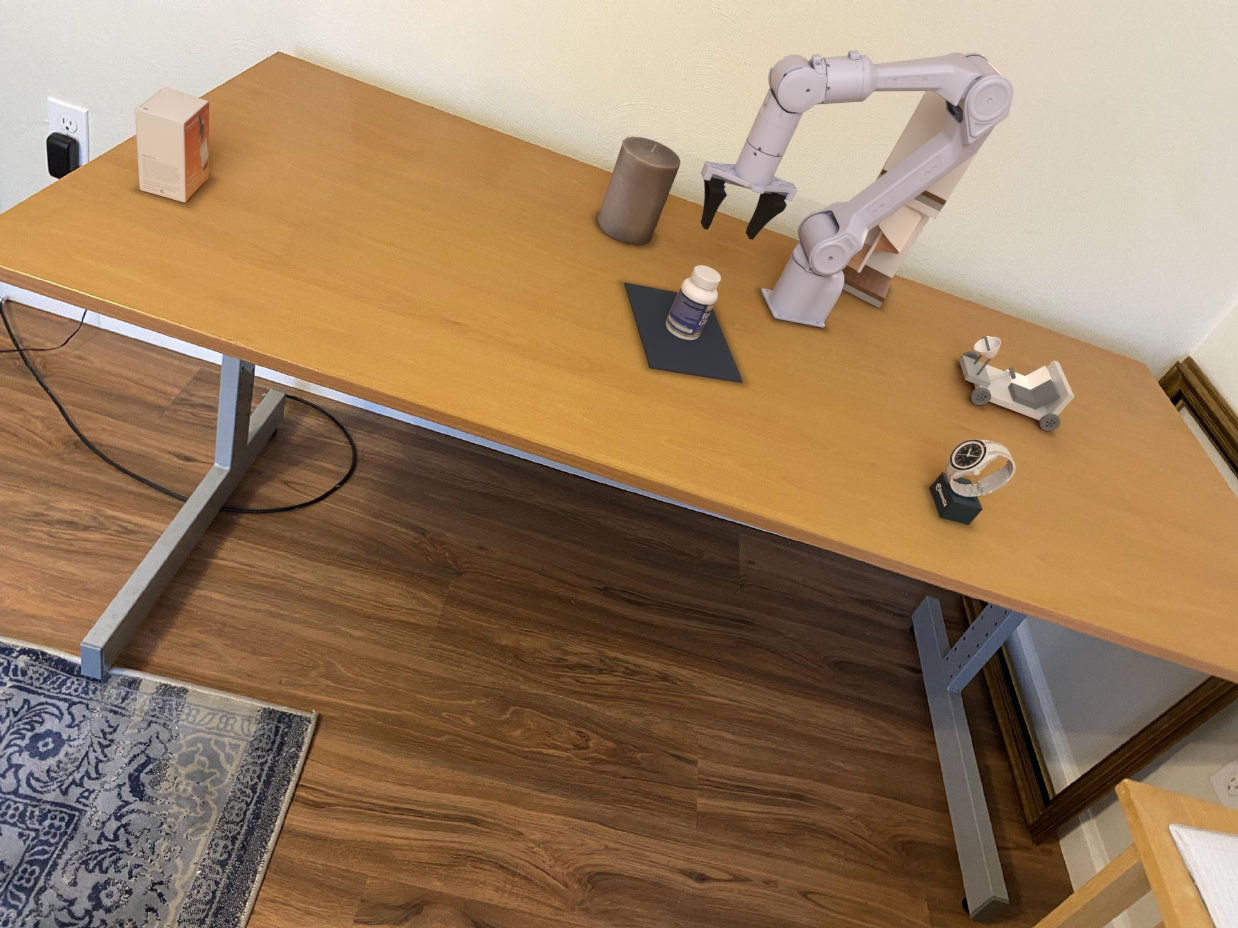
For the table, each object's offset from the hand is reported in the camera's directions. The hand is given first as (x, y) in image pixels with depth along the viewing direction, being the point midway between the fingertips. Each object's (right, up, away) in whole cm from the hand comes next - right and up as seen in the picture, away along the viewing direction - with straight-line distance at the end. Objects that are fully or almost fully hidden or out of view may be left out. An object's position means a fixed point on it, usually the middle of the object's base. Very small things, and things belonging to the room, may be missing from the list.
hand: (726, 231), depth 127 cm
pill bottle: (-7, -16, -6) cm, 18 cm away
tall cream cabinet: (+27, -2, +26) cm, 37 cm away
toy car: (+46, -24, +12) cm, 53 cm away
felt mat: (-7, -16, -6) cm, 19 cm away
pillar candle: (-16, +3, +12) cm, 20 cm away
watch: (+27, -41, -15) cm, 52 cm away
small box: (-73, 0, -19) cm, 76 cm away
